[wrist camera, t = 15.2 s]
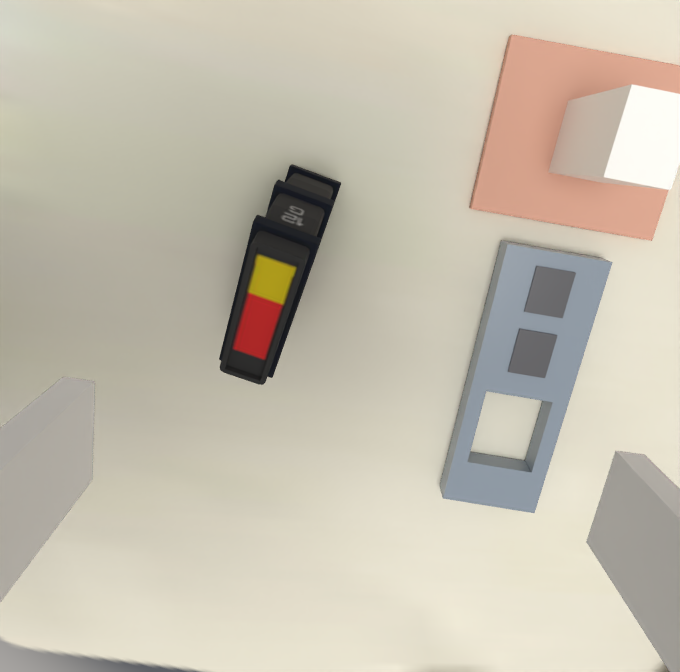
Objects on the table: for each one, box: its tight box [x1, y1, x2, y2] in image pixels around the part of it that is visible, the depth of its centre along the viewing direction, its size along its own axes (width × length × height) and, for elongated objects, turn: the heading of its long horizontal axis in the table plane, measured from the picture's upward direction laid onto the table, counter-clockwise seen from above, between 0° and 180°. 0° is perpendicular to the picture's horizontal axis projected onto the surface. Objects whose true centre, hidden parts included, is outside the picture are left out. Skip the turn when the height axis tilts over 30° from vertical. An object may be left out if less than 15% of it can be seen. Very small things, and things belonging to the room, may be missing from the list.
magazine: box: [219, 165, 341, 385], centre depth 41 cm, size 4×13×15 cm, turn 160°
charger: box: [548, 84, 680, 190], centre depth 38 cm, size 4×5×10 cm
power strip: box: [440, 240, 612, 513], centre depth 48 cm, size 8×22×2 cm, turn 170°
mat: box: [470, 35, 680, 241], centre depth 43 cm, size 14×12×1 cm
